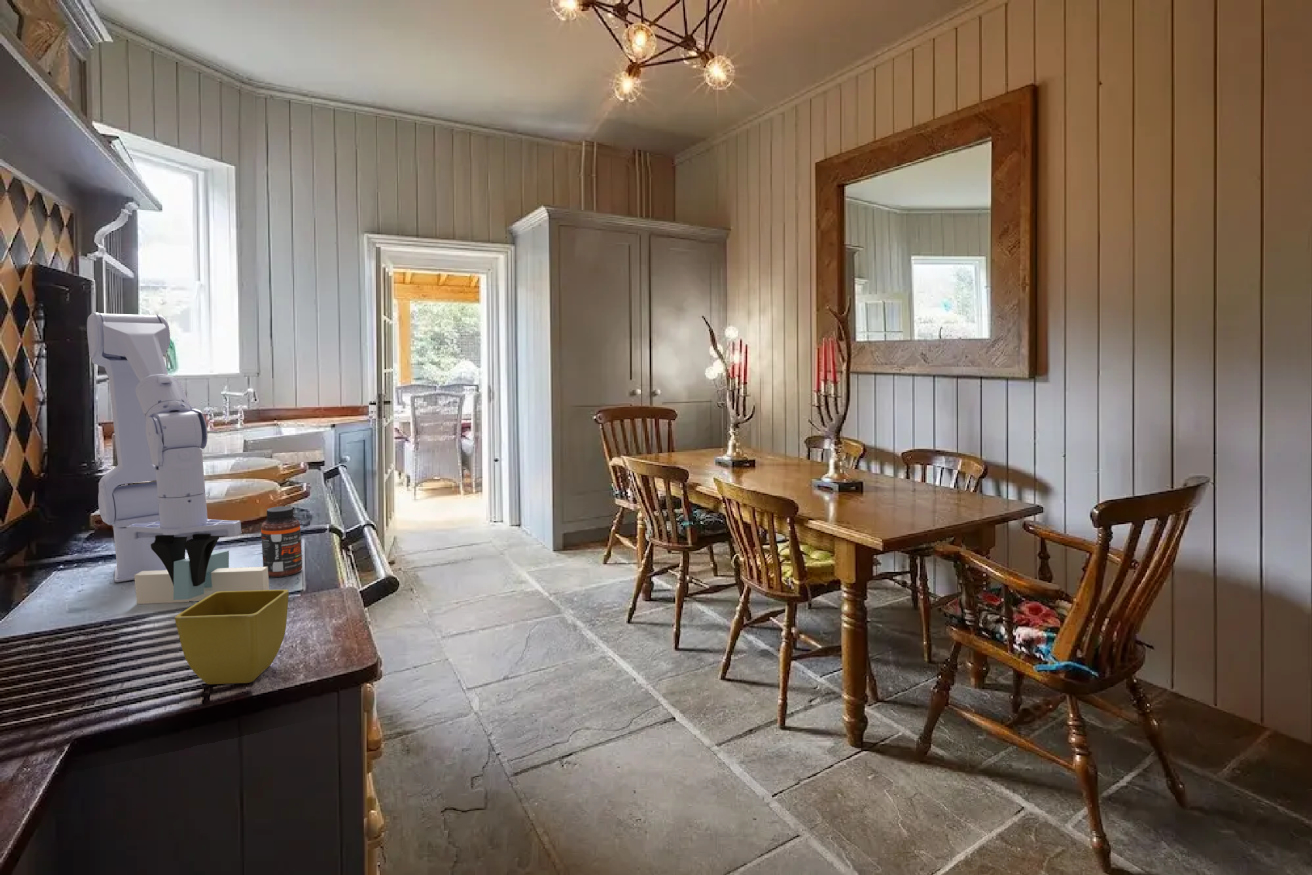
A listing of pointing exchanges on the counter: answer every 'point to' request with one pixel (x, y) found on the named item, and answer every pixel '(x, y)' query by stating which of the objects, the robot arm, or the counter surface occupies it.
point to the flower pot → (233, 634)
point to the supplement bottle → (281, 542)
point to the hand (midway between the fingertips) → (189, 584)
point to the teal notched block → (183, 575)
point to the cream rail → (223, 579)
